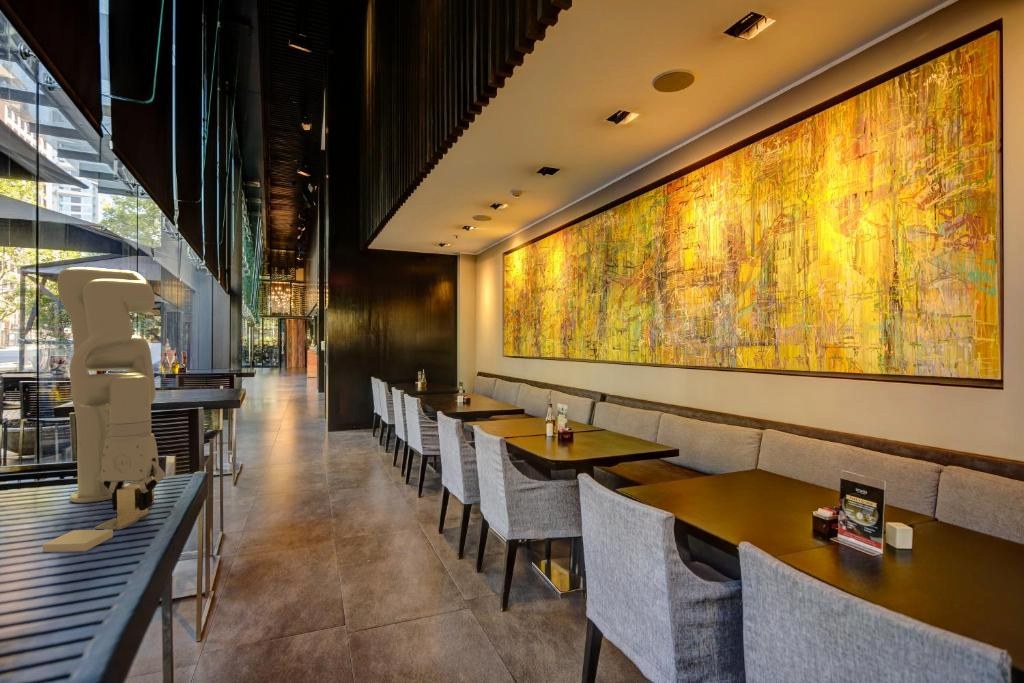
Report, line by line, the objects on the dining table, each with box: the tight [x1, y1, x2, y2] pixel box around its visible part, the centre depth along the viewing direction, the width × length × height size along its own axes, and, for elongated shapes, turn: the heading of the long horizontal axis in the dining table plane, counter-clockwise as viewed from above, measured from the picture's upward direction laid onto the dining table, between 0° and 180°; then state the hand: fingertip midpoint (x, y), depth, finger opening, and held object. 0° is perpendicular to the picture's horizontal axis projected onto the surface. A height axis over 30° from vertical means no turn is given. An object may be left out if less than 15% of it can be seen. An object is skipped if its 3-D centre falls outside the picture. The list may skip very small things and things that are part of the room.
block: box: [42, 529, 114, 553], centre depth 100 cm, size 2×8×7 cm
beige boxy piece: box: [94, 483, 149, 530], centre depth 112 cm, size 9×6×7 cm, turn 0°
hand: (132, 507), depth 115 cm, fingers open, 5 cm apart
